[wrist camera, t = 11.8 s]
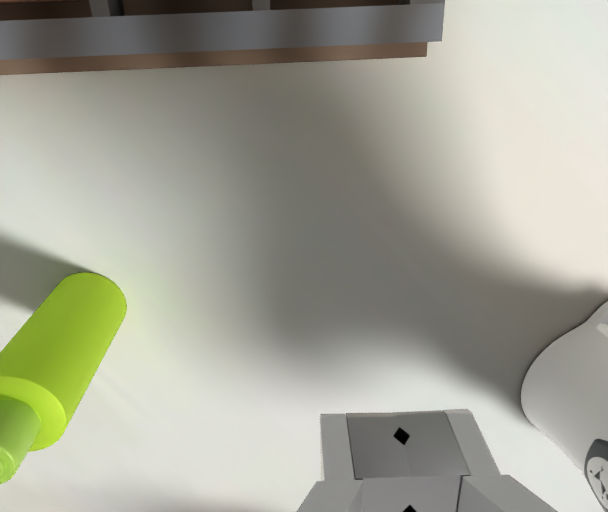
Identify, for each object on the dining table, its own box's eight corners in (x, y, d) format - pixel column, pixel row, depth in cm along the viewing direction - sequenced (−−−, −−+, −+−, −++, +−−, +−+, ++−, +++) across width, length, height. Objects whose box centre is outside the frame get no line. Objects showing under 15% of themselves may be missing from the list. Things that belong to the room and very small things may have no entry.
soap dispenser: (49, 257, 39) (-149, 458, 21) (135, 286, 40) (19, 497, 22) (34, 315, 41) (-157, 542, 23) (116, 341, 42) (-3, 573, 24)
